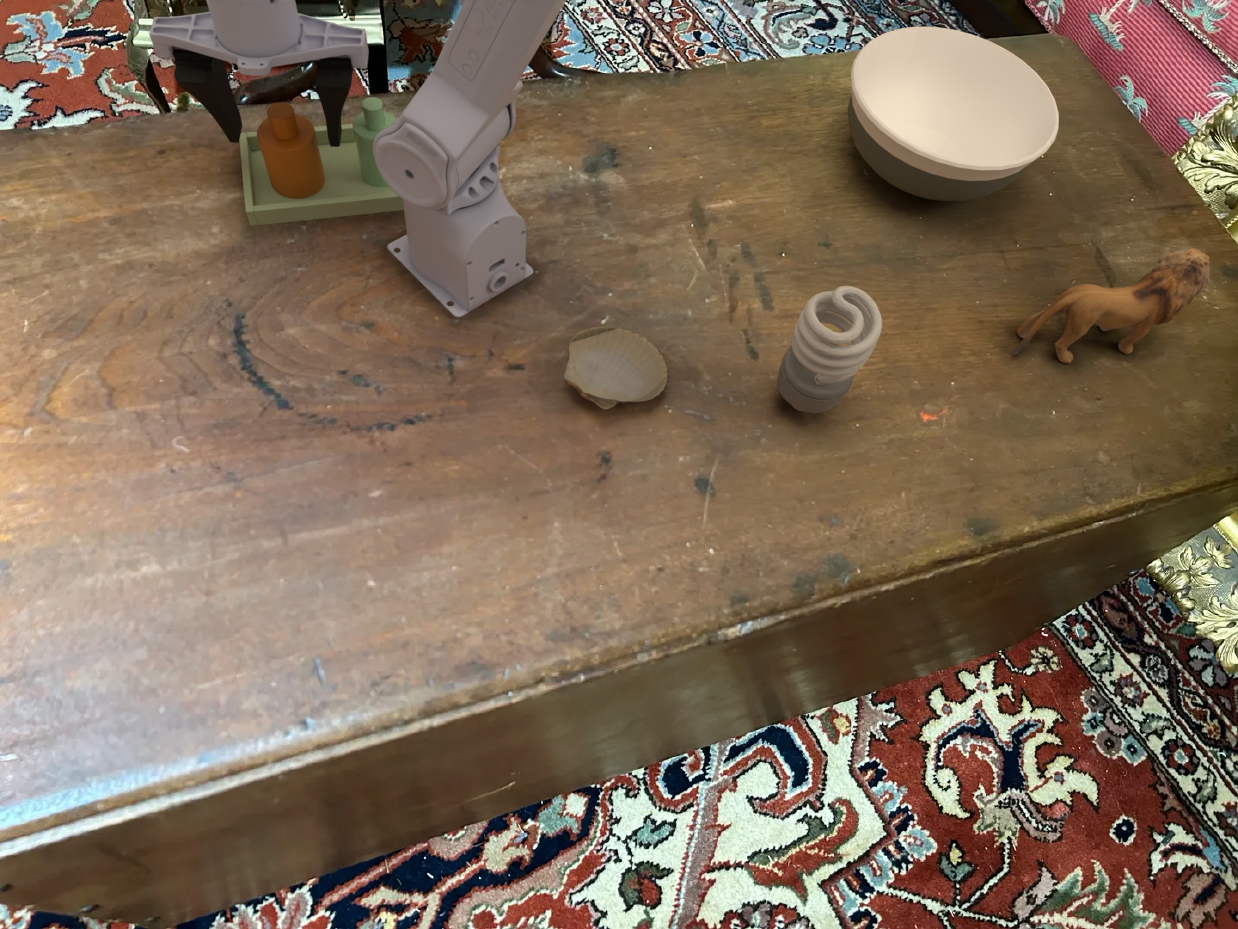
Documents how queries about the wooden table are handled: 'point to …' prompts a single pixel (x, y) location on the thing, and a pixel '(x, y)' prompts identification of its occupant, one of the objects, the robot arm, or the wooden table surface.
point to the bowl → (947, 113)
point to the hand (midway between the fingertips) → (286, 136)
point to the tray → (334, 199)
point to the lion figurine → (1125, 303)
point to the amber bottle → (290, 152)
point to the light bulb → (828, 348)
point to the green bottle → (370, 137)
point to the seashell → (615, 367)
